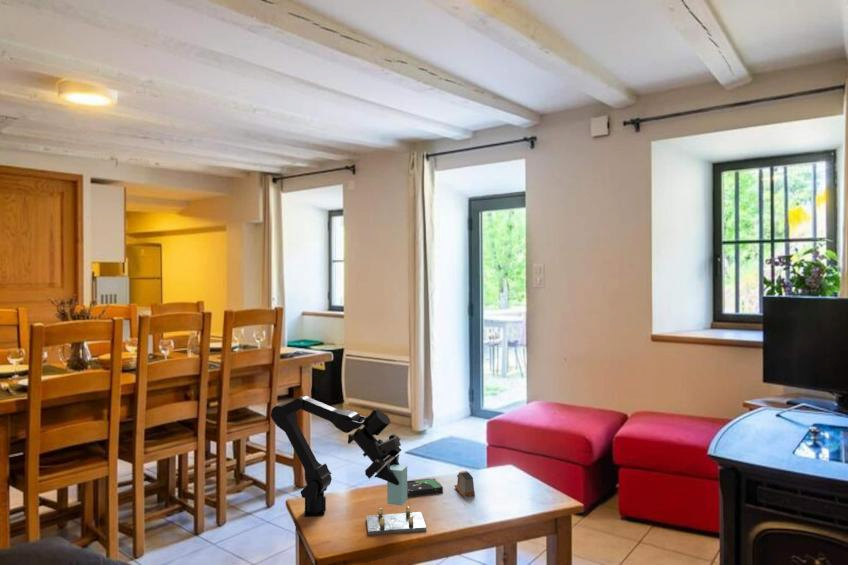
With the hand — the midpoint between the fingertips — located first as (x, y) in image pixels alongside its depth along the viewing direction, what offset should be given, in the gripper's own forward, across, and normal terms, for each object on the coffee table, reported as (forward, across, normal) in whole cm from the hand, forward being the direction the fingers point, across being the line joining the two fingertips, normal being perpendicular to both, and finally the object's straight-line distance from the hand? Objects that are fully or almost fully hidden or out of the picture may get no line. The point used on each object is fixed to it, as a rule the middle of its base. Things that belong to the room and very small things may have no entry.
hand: (401, 481), depth 185 cm
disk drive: (+8, +30, +12) cm, 33 cm away
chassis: (+8, -2, +11) cm, 14 cm away
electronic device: (+19, +32, +1) cm, 38 cm away
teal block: (+4, 0, +6) cm, 7 cm away
